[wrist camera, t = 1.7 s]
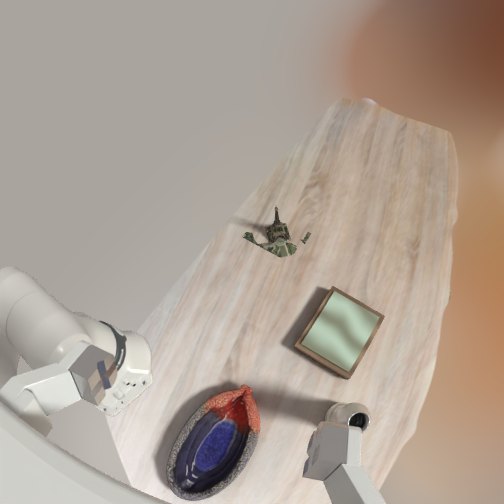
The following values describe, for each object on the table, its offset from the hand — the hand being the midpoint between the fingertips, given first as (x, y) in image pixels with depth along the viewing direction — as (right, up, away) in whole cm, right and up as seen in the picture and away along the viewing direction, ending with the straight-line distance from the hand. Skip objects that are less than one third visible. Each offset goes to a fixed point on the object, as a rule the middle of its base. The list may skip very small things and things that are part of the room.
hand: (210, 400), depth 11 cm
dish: (-6, -37, +49) cm, 61 cm away
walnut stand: (+21, -13, +57) cm, 62 cm away
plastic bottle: (+20, -30, +49) cm, 60 cm away
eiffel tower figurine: (+8, +9, +71) cm, 72 cm away
